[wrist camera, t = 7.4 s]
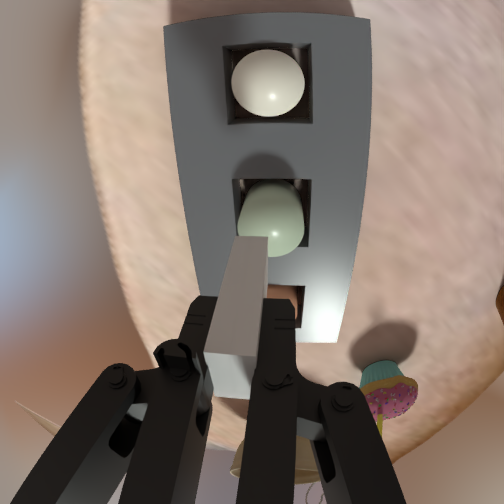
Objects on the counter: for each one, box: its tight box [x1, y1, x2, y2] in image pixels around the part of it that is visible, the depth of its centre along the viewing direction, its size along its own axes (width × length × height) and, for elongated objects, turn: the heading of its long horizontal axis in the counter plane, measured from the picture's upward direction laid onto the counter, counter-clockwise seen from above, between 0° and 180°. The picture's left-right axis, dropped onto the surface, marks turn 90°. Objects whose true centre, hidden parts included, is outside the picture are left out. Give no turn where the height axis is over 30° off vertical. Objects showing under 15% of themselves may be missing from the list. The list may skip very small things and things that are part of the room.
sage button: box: [237, 179, 304, 257], centre depth 19 cm, size 4×4×4 cm
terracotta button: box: [267, 285, 297, 319], centre depth 25 cm, size 4×4×4 cm
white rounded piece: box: [231, 49, 305, 117], centre depth 15 cm, size 4×4×4 cm
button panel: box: [163, 12, 372, 342], centre depth 20 cm, size 26×12×3 cm, turn 3°
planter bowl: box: [230, 435, 321, 485], centre depth 39 cm, size 16×16×11 cm
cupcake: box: [359, 360, 418, 437], centre depth 28 cm, size 9×8×12 cm
